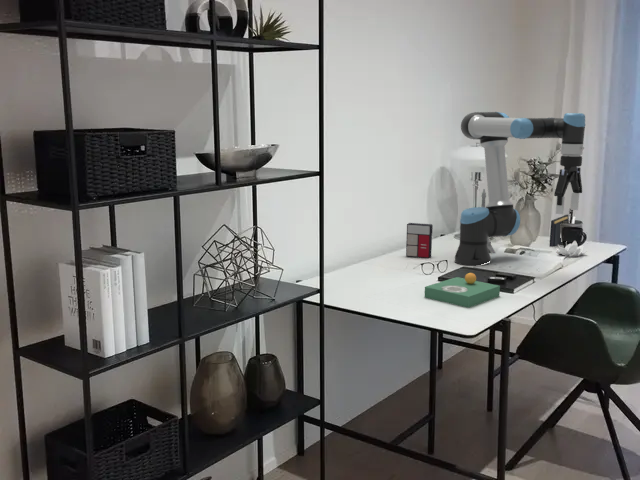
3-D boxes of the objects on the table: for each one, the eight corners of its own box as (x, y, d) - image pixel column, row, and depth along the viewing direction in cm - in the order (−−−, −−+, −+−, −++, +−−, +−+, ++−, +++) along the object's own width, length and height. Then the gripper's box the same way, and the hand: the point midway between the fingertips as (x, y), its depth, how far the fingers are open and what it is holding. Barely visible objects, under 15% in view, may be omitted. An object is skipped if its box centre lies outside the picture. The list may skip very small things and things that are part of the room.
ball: (462, 283, 238) (462, 272, 237) (468, 281, 241) (469, 271, 240) (472, 285, 235) (472, 274, 234) (478, 283, 238) (478, 272, 237)
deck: (424, 297, 235) (424, 286, 234) (456, 287, 248) (456, 276, 248) (468, 308, 222) (468, 296, 221) (499, 296, 236) (499, 285, 235)
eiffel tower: (465, 249, 317) (468, 187, 311) (494, 250, 315) (497, 187, 309) (467, 255, 304) (470, 190, 298) (497, 256, 302) (500, 191, 296)
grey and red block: (405, 256, 301) (406, 224, 298) (408, 254, 305) (408, 222, 302) (429, 258, 296) (430, 225, 294) (431, 256, 300) (432, 224, 298)
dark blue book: (552, 251, 313) (555, 219, 310) (548, 250, 314) (551, 219, 311) (568, 245, 328) (570, 214, 325) (564, 244, 329) (567, 214, 326)
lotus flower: (588, 265, 286) (589, 245, 284) (551, 262, 291) (552, 242, 289) (587, 258, 299) (589, 239, 297) (552, 255, 304) (553, 236, 302)
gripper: (568, 157, 235) (563, 217, 239) (594, 154, 253) (589, 209, 257) (547, 156, 240) (543, 214, 244) (574, 153, 258) (570, 207, 262)
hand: (566, 212), depth 250 cm, fingers open, 13 cm apart
